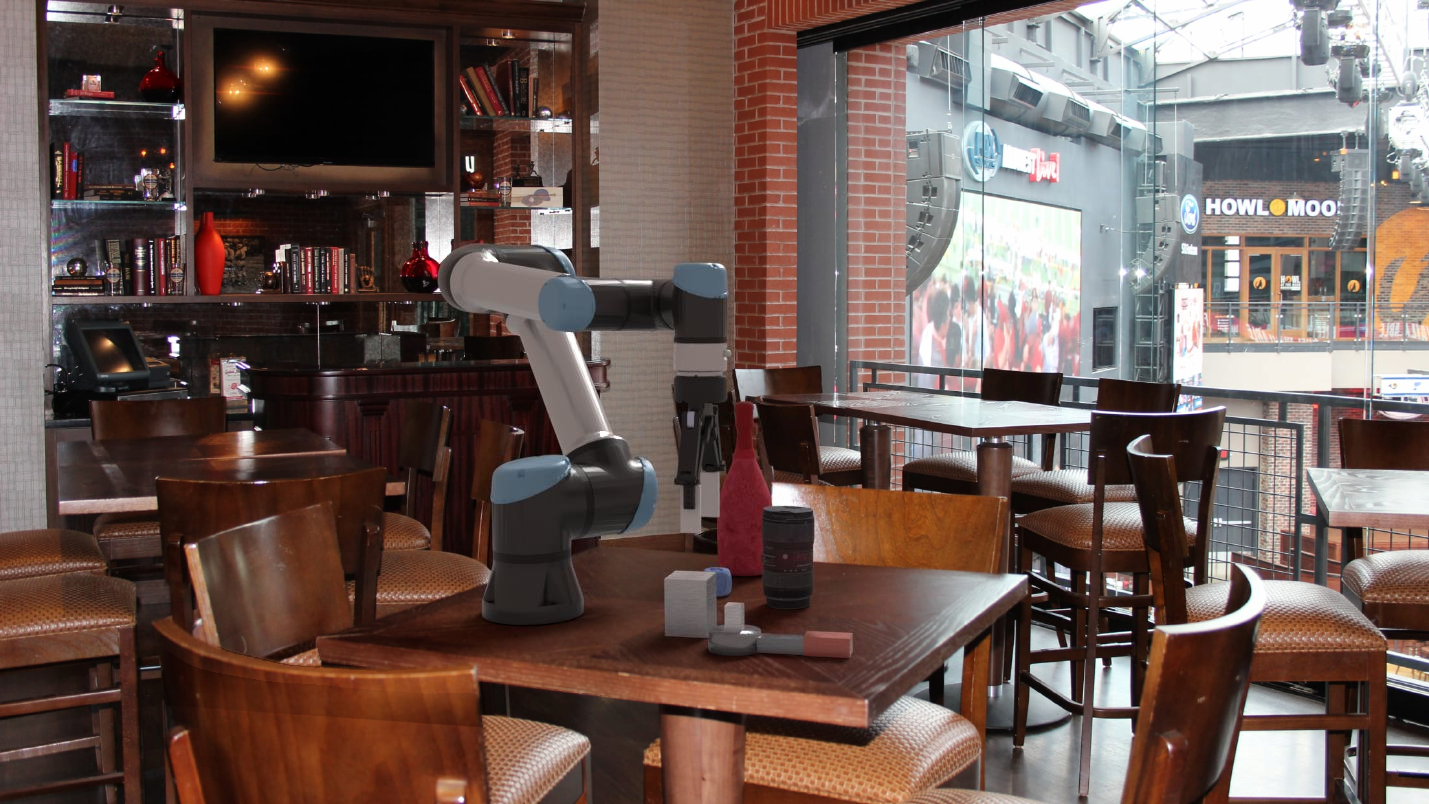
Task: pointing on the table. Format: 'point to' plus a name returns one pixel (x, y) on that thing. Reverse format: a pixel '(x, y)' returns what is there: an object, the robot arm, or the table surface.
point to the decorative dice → (721, 580)
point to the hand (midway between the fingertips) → (700, 524)
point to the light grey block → (690, 603)
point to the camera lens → (788, 556)
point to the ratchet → (773, 639)
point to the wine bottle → (742, 503)
